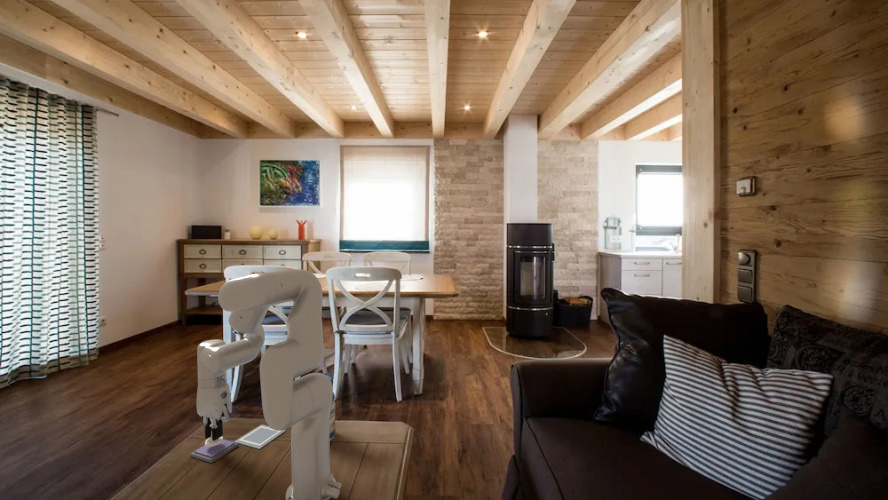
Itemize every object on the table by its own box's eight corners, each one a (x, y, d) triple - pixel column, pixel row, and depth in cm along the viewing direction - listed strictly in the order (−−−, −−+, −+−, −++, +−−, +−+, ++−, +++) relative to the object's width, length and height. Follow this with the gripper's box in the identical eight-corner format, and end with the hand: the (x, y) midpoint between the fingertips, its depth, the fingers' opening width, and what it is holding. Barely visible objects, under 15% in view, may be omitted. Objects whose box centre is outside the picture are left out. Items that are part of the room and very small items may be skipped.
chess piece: (214, 447, 108) (213, 416, 108) (200, 445, 109) (199, 414, 109) (227, 438, 113) (226, 408, 112) (214, 436, 114) (213, 406, 113)
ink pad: (238, 446, 114) (237, 441, 114) (211, 463, 105) (211, 458, 105) (218, 440, 117) (217, 436, 117) (190, 456, 108) (190, 452, 108)
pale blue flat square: (285, 431, 122) (285, 430, 122) (259, 449, 112) (259, 448, 112) (261, 425, 126) (261, 424, 126) (234, 442, 116) (234, 441, 116)
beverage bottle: (321, 428, 124) (320, 372, 123) (341, 432, 121) (340, 376, 120) (303, 441, 116) (302, 382, 115) (324, 446, 113) (324, 386, 113)
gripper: (242, 379, 111) (243, 436, 112) (206, 372, 116) (207, 426, 117) (220, 389, 104) (221, 449, 105) (182, 381, 109) (184, 438, 110)
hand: (214, 436), depth 111 cm, fingers closed on chess piece
